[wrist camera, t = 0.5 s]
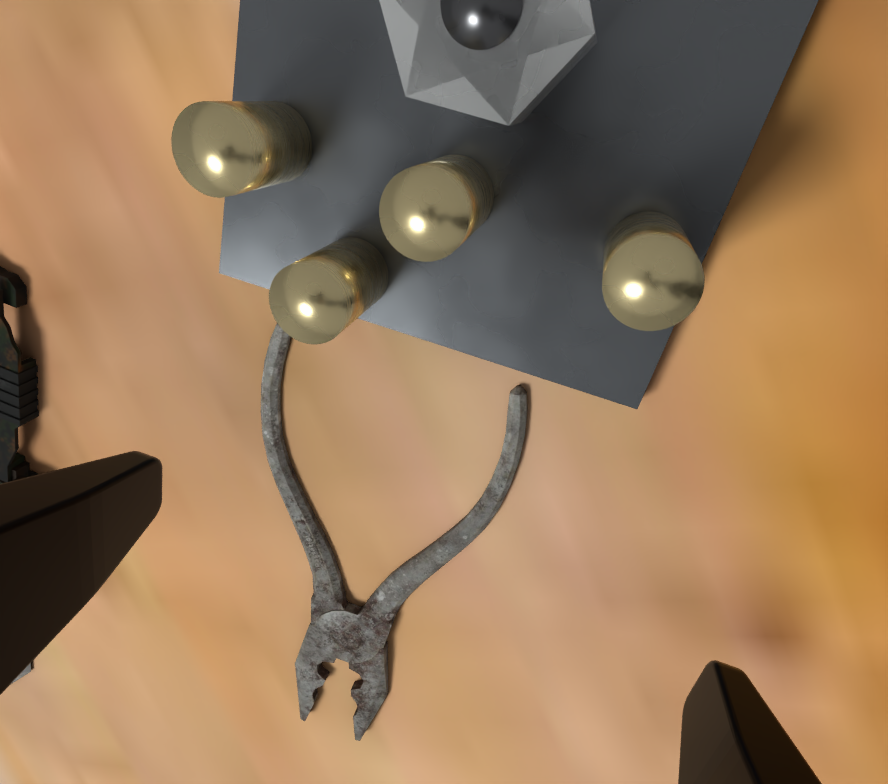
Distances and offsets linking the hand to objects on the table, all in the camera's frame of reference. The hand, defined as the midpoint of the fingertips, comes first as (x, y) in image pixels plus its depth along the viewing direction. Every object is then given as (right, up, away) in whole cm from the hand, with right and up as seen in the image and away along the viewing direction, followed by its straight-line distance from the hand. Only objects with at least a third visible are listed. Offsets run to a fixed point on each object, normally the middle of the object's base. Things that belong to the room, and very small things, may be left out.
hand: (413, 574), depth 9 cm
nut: (+2, +12, +7) cm, 14 cm away
